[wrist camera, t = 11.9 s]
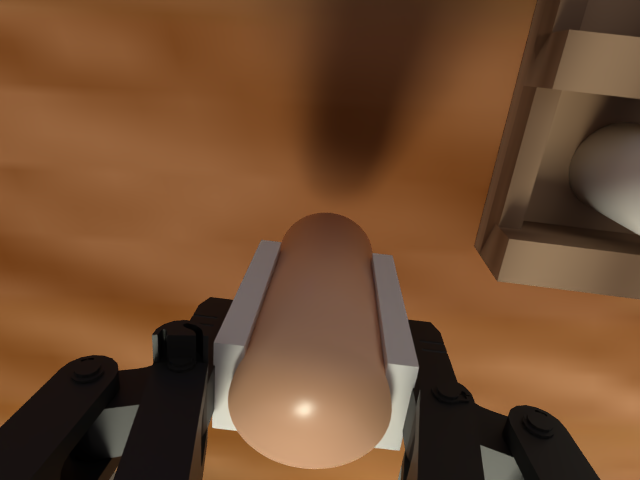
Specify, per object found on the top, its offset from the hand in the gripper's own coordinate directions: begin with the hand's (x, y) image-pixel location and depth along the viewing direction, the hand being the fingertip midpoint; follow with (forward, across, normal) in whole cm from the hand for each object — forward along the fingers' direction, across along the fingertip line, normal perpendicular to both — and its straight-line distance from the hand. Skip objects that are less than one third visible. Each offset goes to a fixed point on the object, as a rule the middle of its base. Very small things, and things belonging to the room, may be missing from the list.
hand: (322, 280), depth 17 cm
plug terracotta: (+2, 0, 0) cm, 2 cm away
